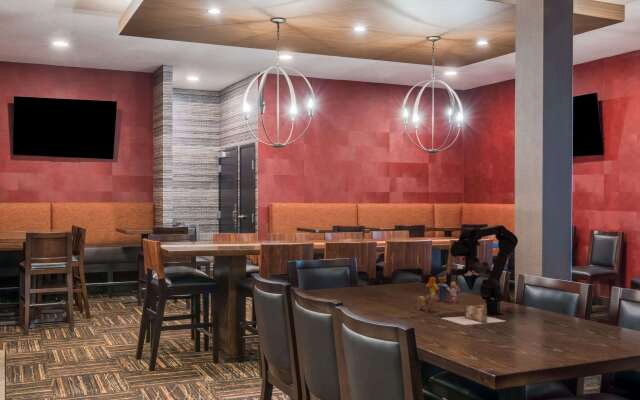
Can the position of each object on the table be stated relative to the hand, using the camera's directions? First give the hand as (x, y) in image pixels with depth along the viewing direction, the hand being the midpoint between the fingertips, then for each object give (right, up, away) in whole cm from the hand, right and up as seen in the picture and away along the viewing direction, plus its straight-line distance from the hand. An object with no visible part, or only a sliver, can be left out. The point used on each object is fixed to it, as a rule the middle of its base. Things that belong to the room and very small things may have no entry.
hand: (470, 290), depth 313 cm
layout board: (-1, -12, -10) cm, 15 cm away
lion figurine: (-18, -12, +15) cm, 27 cm away
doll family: (-7, -12, +43) cm, 46 cm away
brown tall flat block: (0, -11, -10) cm, 16 cm away
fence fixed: (+2, -12, -3) cm, 13 cm away
